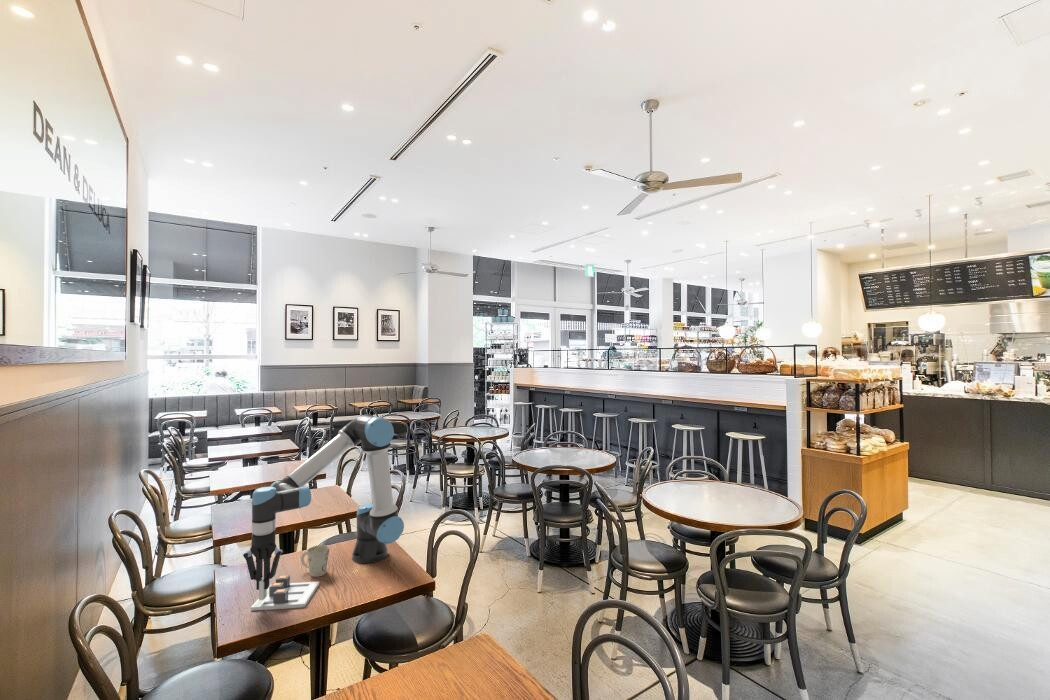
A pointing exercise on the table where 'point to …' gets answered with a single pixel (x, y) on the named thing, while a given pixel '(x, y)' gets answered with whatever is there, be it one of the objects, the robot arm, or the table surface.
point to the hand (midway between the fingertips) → (262, 598)
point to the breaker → (280, 596)
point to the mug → (316, 559)
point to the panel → (296, 594)
